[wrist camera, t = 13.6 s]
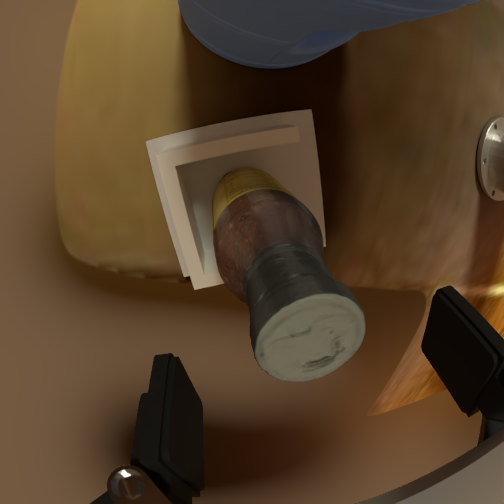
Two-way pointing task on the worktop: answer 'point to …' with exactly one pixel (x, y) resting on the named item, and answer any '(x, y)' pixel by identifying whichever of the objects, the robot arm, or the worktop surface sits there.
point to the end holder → (222, 162)
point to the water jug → (295, 25)
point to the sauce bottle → (282, 278)
